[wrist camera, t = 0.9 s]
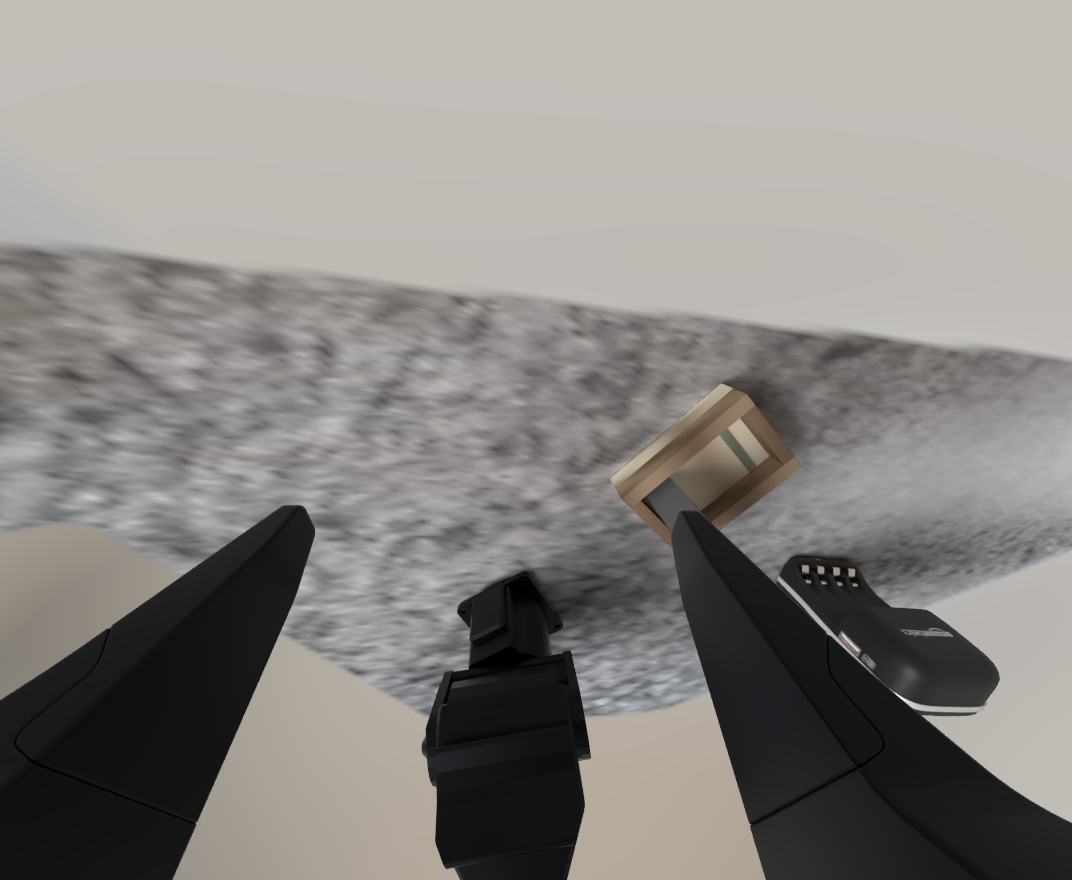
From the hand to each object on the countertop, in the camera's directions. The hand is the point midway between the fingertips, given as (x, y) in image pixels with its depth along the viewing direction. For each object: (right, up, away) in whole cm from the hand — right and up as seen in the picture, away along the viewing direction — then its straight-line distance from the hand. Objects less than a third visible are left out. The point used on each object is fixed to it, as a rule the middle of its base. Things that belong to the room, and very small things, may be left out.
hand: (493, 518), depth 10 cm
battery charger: (+25, -9, +24) cm, 36 cm away
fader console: (+12, 0, +19) cm, 23 cm away
